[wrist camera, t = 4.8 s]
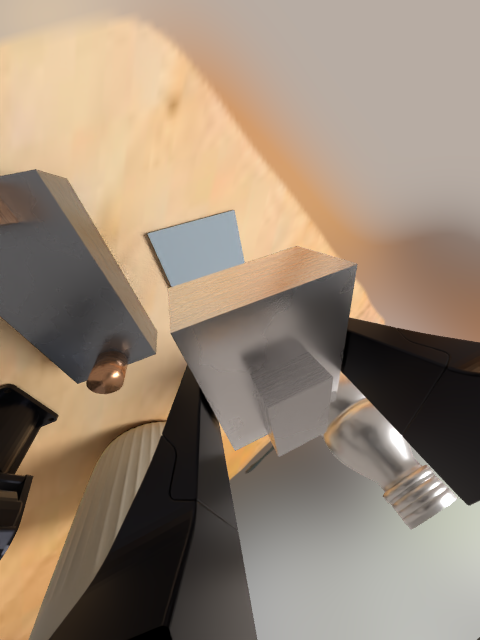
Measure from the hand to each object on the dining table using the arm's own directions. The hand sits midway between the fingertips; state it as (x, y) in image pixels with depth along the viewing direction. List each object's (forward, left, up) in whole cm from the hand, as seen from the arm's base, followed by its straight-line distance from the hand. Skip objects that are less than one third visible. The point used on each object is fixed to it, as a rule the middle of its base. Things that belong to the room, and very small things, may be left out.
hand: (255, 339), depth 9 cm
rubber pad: (0, 0, -13) cm, 13 cm away
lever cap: (0, 0, -1) cm, 0 cm away
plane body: (+2, +11, -13) cm, 17 cm away
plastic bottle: (-13, -7, -13) cm, 20 cm away
